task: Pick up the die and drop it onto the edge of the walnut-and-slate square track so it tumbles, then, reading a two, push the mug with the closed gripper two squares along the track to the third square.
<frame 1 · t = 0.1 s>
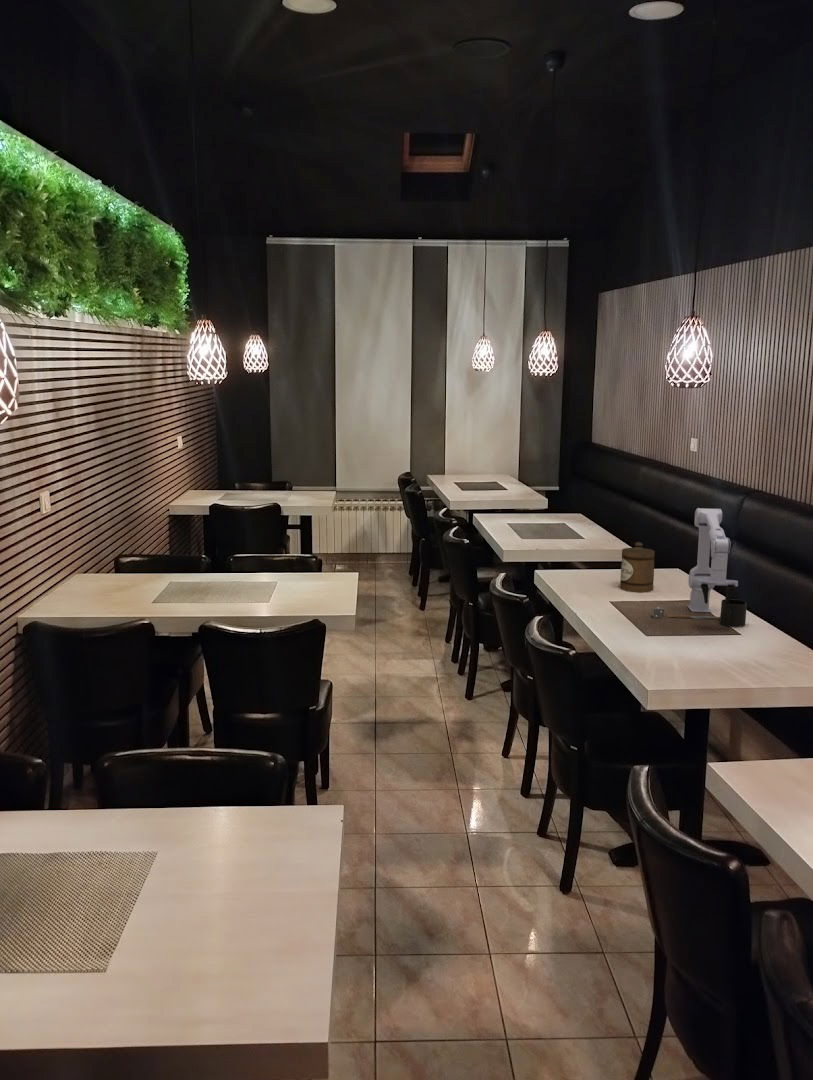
hand: (716, 603, 335), 10 cm above the table, tool pointing down, fingers open, 7 cm apart
die: (657, 617, 352), on the table
wooden container: (636, 589, 400), on the table
mug: (731, 625, 342), on the table
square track: (702, 618, 351), on the table
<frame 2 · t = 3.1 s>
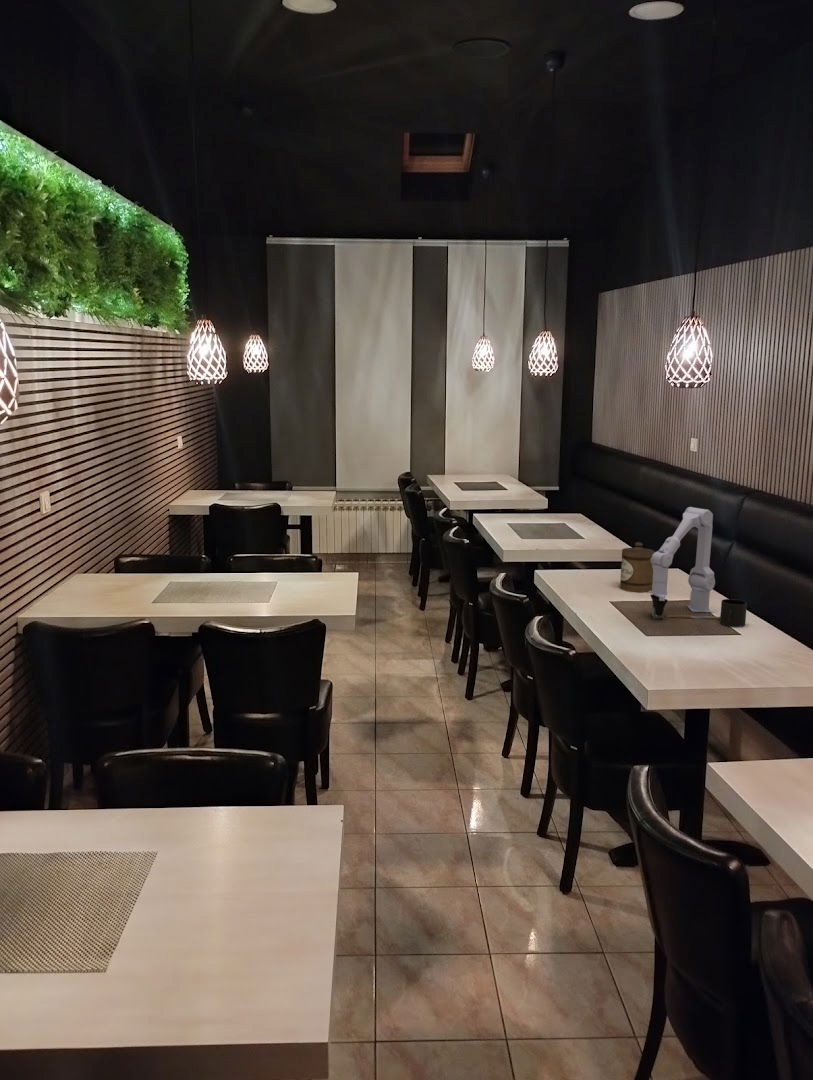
hand: (657, 613, 352), 1 cm above the table, tool pointing down, fingers closed on die, 4 cm apart
die: (657, 617, 352), on the table, touching gripper
everything else where it was.
when the fingers open (7 cm above the table, at t = 4.7 s): die drops 5 cm, resting on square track.
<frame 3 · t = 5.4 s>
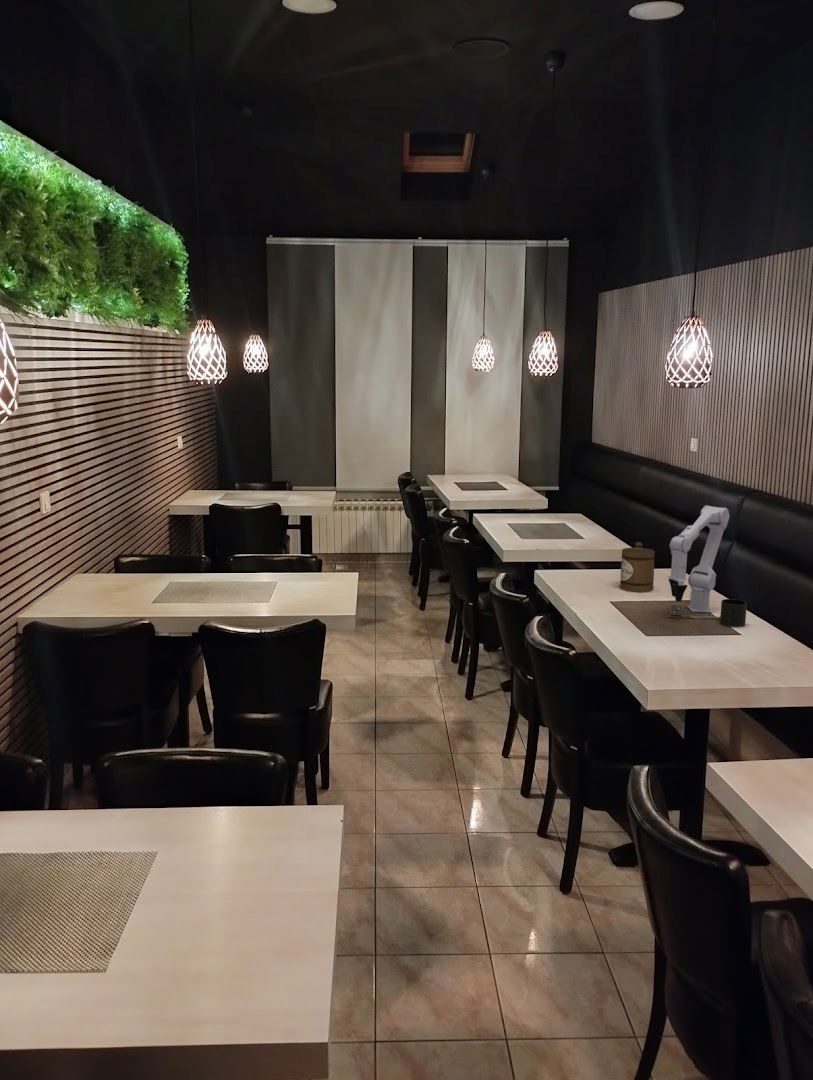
hand: (676, 598, 352), 7 cm above the table, tool pointing down, fingers open, 7 cm apart
die: (675, 615, 353), point 1 cm above the table, tilted 14°, touching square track
everything else where it was.
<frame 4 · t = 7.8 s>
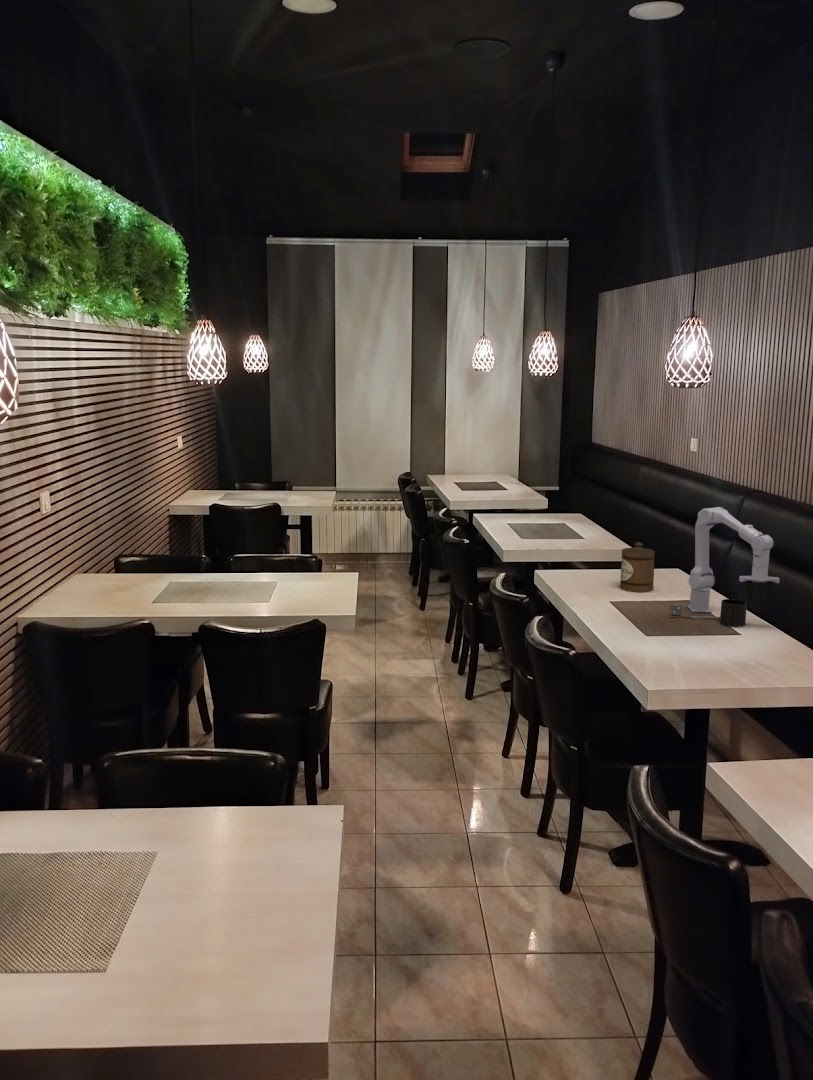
hand: (757, 599, 339), 10 cm above the table, tool pointing down, fingers open, 5 cm apart
nothing on the table moved.
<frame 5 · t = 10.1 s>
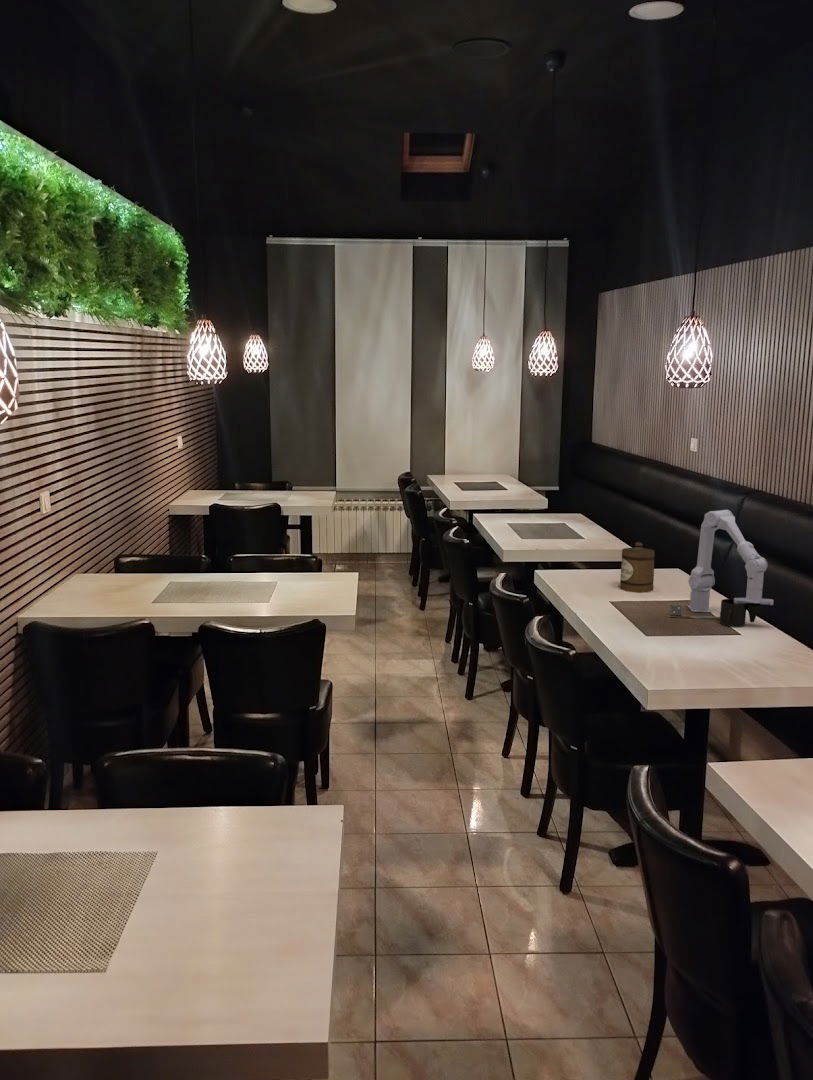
hand: (751, 621, 341), 1 cm above the table, tool pointing down, fingers closed
mug: (731, 625, 342), on the table, touching gripper
everything else where it was.
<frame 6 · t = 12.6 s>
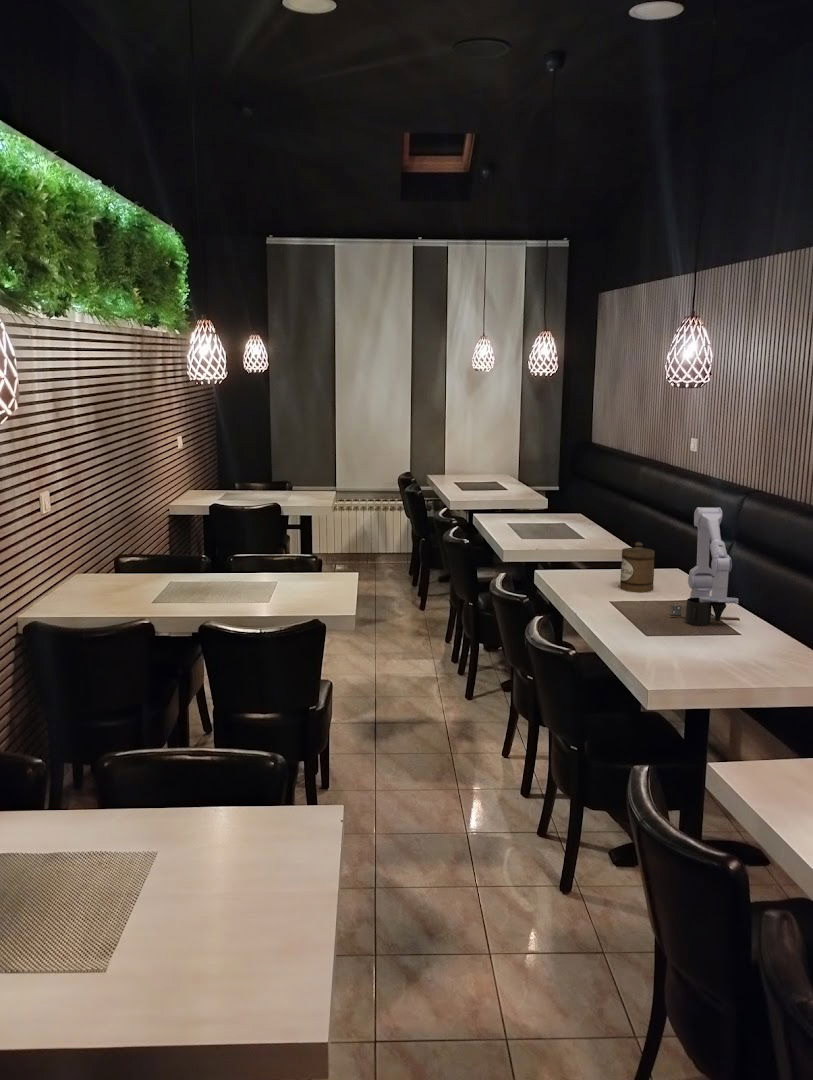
hand: (717, 620, 343), 1 cm above the table, tool pointing down, fingers closed
mug: (696, 623, 344), on the table, touching gripper
everything else where it was.
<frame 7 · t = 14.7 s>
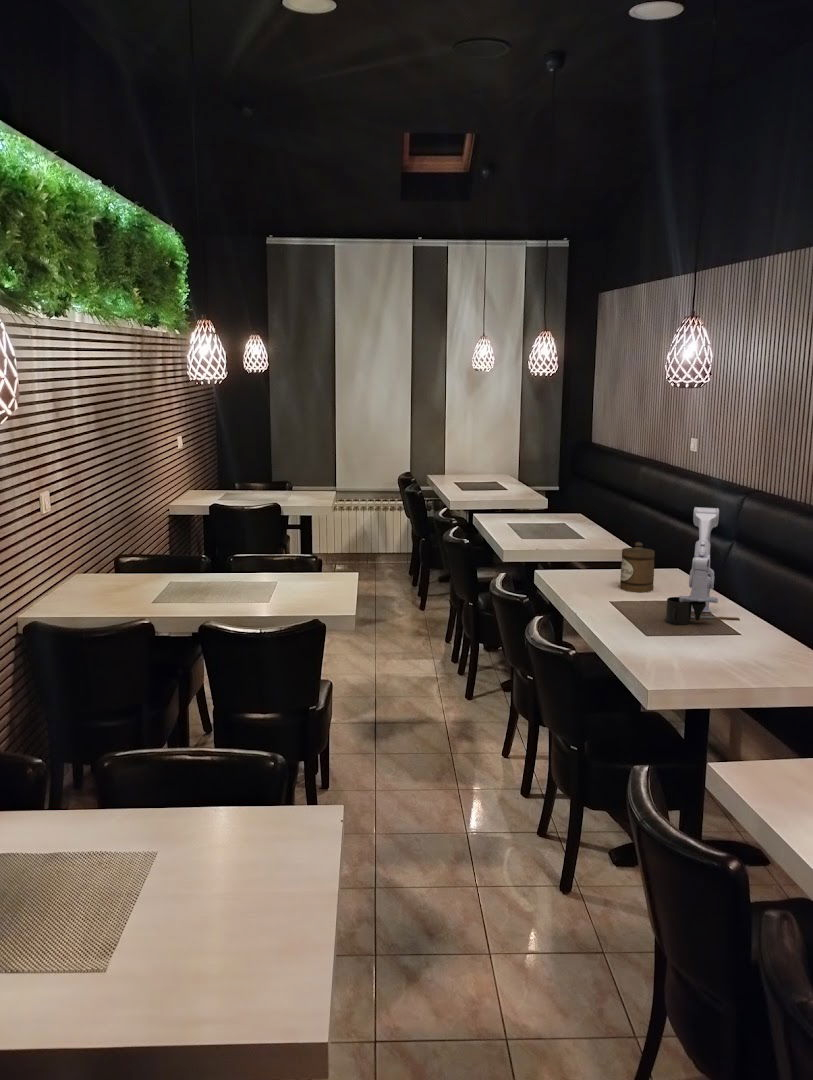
hand: (697, 619, 343), 1 cm above the table, tool pointing down, fingers closed
mug: (677, 622, 345), on the table, touching gripper
everything else where it was.
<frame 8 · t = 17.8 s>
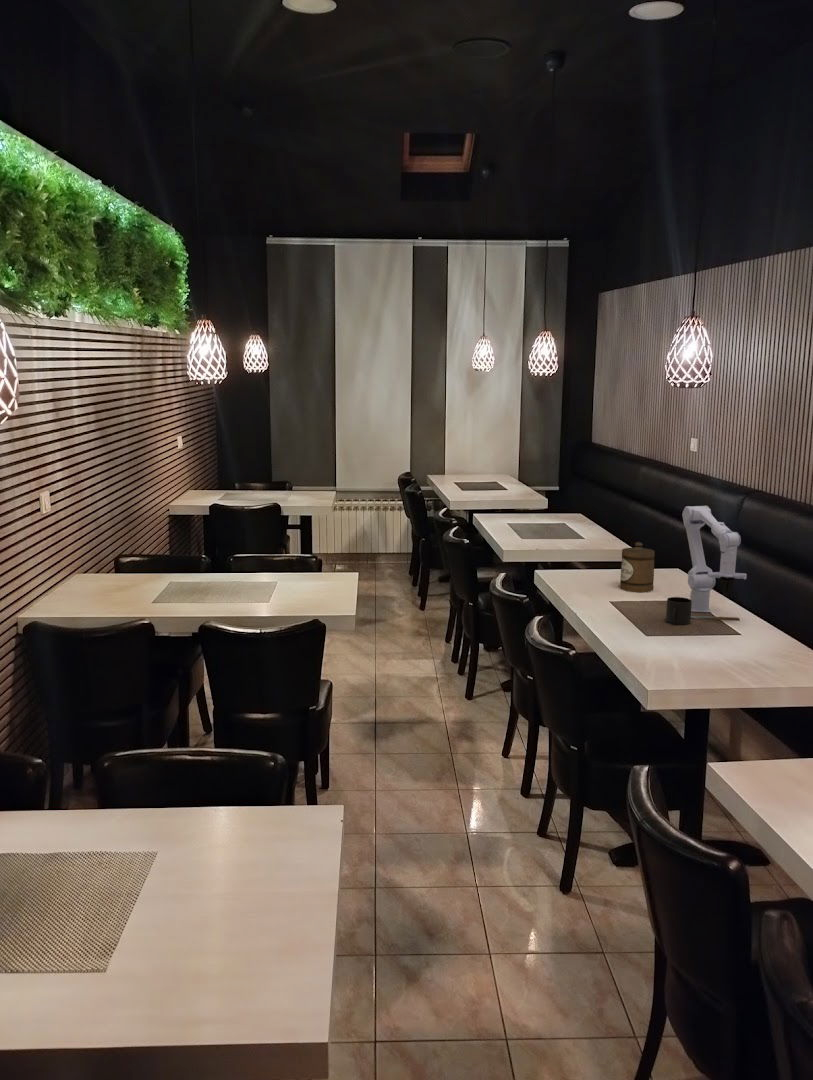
hand: (725, 595, 345), 10 cm above the table, tool pointing down, fingers closed
mug: (677, 623, 345), on the table
everything else where it was.
at the end: mug inside the target area (2.1 cm from its centre), on the table; mug tilted 0°; die point 0.5 cm above the table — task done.
